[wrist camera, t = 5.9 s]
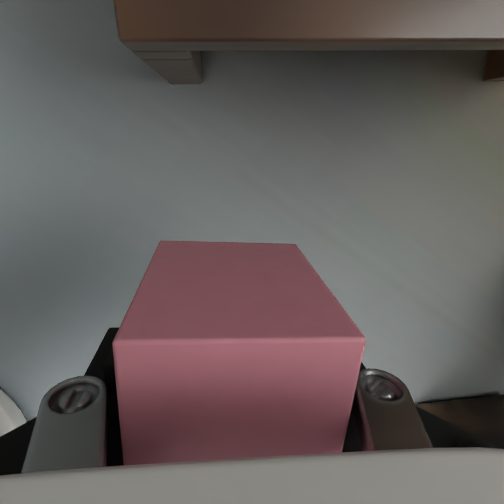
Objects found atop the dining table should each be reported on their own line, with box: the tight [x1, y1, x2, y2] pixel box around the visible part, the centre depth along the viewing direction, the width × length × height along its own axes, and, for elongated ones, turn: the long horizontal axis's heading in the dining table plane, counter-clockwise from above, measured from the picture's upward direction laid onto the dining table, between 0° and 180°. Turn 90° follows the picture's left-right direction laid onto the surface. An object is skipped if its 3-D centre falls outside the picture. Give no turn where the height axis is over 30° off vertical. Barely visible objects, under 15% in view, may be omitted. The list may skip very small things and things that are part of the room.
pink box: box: [112, 241, 366, 466], centre depth 10 cm, size 5×6×6 cm
